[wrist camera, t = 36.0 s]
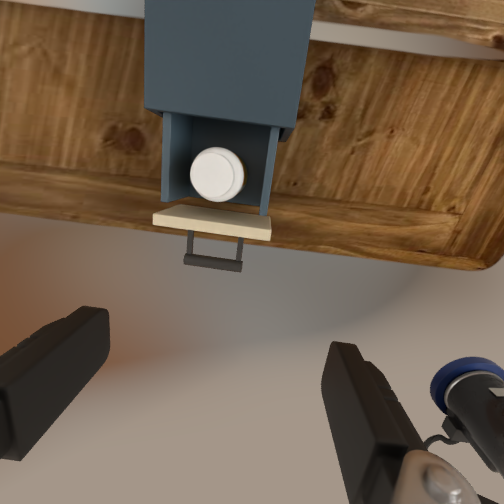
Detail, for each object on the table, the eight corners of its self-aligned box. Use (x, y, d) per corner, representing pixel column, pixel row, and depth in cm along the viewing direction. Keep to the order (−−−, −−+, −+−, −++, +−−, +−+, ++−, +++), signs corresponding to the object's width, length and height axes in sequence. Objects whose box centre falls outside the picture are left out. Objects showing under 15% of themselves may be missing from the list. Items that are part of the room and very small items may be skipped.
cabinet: (286, 142, 33) (294, 128, 23) (180, 127, 33) (143, 107, 23) (309, -10, 28) (334, -111, 18) (187, -26, 29) (145, -135, 19)
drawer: (263, 260, 37) (262, 286, 29) (177, 248, 37) (151, 270, 29) (286, 107, 31) (294, 83, 23) (185, 93, 31) (155, 64, 23)
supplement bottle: (220, 142, 32) (201, 130, 22) (256, 169, 32) (252, 167, 23) (197, 180, 33) (171, 183, 24) (232, 204, 34) (220, 216, 24)
